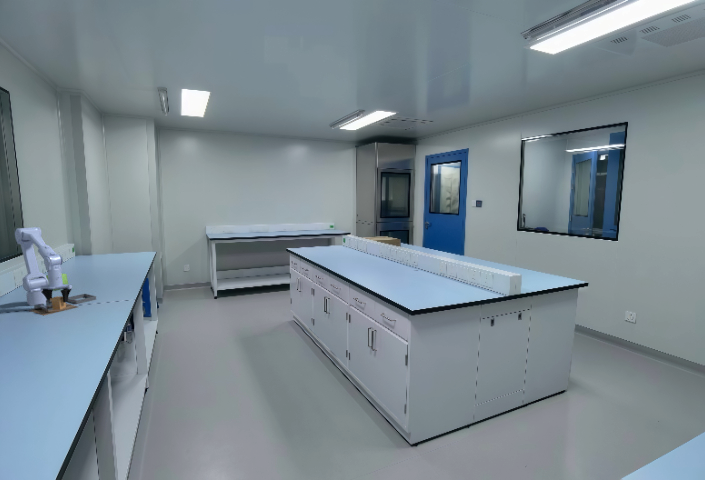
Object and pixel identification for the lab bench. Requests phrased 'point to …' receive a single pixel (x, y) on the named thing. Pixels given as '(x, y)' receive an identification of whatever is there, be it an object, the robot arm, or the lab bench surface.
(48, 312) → the crank board
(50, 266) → the robot arm
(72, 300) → the tray
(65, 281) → the green rough block
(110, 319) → the lab bench surface
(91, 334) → the lab bench surface
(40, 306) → the crank
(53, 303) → the stop block
